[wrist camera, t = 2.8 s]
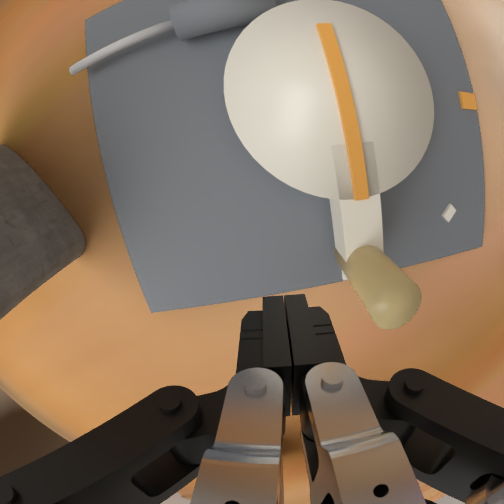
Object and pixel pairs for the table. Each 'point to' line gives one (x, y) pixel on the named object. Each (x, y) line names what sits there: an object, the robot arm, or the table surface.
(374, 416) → the robot arm
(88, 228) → the table surface
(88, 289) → the table surface
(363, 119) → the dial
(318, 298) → the table surface
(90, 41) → the panel
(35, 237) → the hip flask
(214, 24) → the screwdriver
